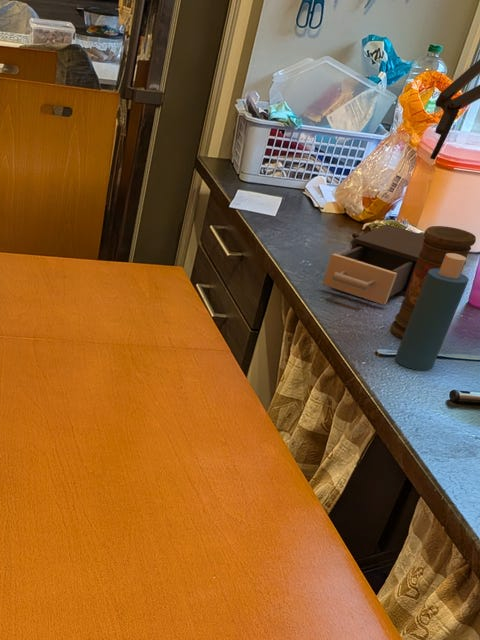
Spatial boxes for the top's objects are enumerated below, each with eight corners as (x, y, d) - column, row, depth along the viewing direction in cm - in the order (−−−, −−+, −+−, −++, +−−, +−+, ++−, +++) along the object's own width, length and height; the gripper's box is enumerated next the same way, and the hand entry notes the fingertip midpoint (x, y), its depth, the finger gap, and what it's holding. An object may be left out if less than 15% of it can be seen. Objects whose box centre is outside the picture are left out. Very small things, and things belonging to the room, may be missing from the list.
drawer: (375, 309, 177) (386, 278, 173) (313, 289, 183) (322, 258, 179) (414, 287, 189) (425, 258, 185) (354, 269, 195) (364, 239, 191)
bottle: (438, 364, 161) (482, 258, 150) (424, 373, 158) (468, 266, 146) (403, 351, 164) (443, 247, 153) (389, 361, 160) (429, 254, 149)
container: (398, 321, 176) (432, 221, 164) (445, 334, 172) (484, 233, 160) (383, 334, 170) (417, 232, 158) (432, 348, 166) (470, 244, 155)
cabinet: (407, 298, 187) (422, 258, 182) (341, 276, 193) (354, 238, 188) (437, 280, 197) (452, 242, 192) (374, 261, 203) (386, 224, 198)
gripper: (614, 73, 142) (546, 208, 145) (457, 19, 145) (394, 152, 148) (638, 46, 134) (565, 189, 138) (472, -10, 138) (405, 131, 141)
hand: (476, 170), depth 143 cm, fingers open, 13 cm apart
